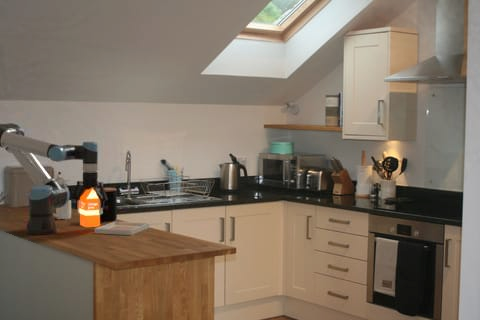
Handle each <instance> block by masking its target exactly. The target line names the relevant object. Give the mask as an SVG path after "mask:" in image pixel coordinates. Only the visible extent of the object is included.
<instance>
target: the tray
mask: <svg viewBox="0 0 480 320" xmlns="http://www.w3.org/2000/svg"><path fill="white" fill-rule="evenodd" d="M147 229H150V223H149V222H135V221H133V222H131V221H111V222H109V223H107V224H104V225H100V226H97V227H96V228H95V227H94V234H99V235H100V234H103V235H104V234H105V235H120V236H121V235H123V236H132V235H135V234H137V233H140V232H142V231H145V230H147Z"/></svg>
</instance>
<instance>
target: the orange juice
mask: <svg viewBox="0 0 480 320" xmlns="http://www.w3.org/2000/svg"><path fill="white" fill-rule="evenodd" d="M93 190H94V189H93V188H91V189H88V190H86V191H85V192H84V193H83V195H82V196H81V197H80V213H79V226H82V227H84V228H91V227H92V228H93V227H94V228H95V227H96V228H97V227H101V221H100V214H99V202H100V200H99V198H98V196H97V195H96V194H97V193H96V192H95V190H94V191H93Z"/></svg>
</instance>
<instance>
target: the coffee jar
mask: <svg viewBox="0 0 480 320" xmlns="http://www.w3.org/2000/svg"><path fill="white" fill-rule="evenodd" d="M104 189H105V192H106V195H107V198H108V200H106V201H104V208H103V214H100V222H102V221H110V222H116V220H117V217H118V215H117V211H118V209H117V207H118V206H117V203H118V202H117V200H118V199H117V197H118V196H117V188H115V187H104ZM98 190H99V192H100V193H101V191H100V188H98ZM101 195H102V194H101Z"/></svg>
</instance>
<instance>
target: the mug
mask: <svg viewBox="0 0 480 320" xmlns="http://www.w3.org/2000/svg"><path fill="white" fill-rule="evenodd" d="M55 209H56V210H55V211H56V213H54V212H53V217H56V220H60V219H65V220H70V219H71V218H72V200H70V199H69V201H68V203H67V204H66V205H64V206H62V207H60V208H55Z"/></svg>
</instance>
